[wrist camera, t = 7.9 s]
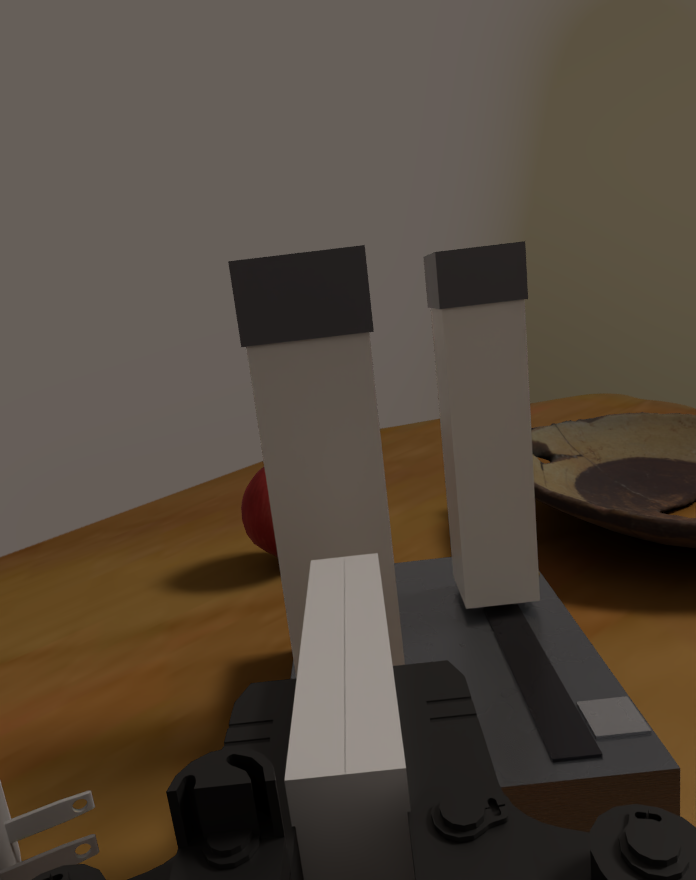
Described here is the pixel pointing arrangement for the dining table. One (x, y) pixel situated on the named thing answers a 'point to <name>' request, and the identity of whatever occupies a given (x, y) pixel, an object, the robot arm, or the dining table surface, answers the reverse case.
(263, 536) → the onion
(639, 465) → the broken bowl
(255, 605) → the dining table surface
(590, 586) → the dining table surface
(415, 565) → the console
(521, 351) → the white capped post
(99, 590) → the dining table surface
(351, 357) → the grey square post
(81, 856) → the usb wall charger
